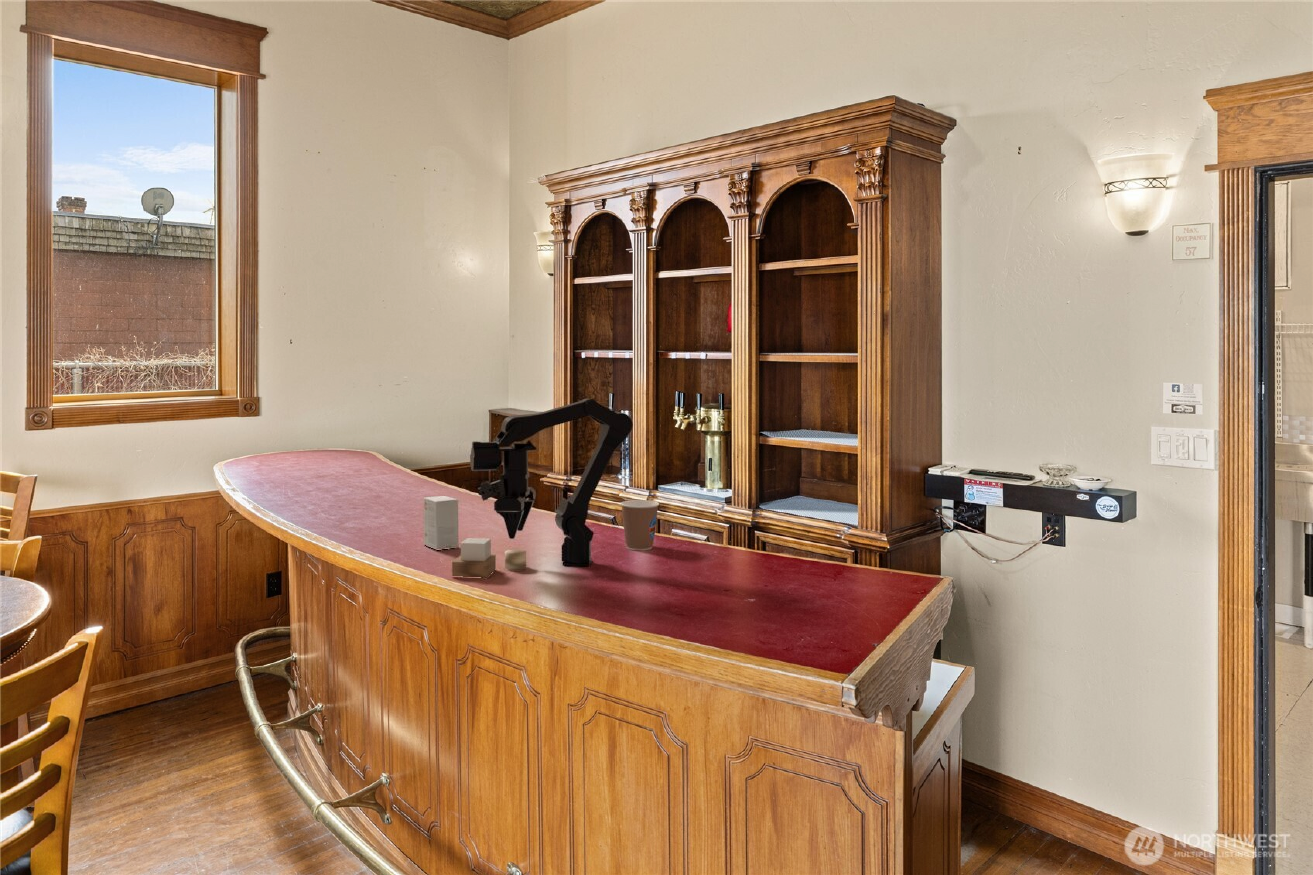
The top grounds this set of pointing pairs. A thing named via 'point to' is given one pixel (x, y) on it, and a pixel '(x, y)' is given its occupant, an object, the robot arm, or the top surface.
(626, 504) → the coffee cup
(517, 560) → the birch puck
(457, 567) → the walnut slab
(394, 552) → the top surface
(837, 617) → the top surface
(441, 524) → the small box
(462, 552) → the grey block
